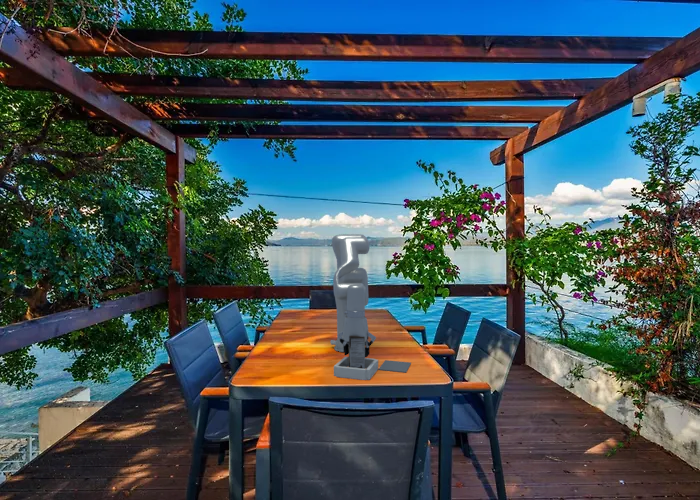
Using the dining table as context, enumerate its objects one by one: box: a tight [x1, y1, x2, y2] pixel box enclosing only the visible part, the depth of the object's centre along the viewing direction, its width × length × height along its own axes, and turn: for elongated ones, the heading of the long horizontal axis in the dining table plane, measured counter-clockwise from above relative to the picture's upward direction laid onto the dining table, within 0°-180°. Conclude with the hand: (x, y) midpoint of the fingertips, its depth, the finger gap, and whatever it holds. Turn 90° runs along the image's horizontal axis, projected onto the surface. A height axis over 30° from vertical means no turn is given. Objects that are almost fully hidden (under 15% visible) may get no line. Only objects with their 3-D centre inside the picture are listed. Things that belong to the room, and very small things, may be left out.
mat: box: [377, 359, 412, 374], centre depth 154 cm, size 12×13×1 cm
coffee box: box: [347, 336, 366, 369], centre depth 148 cm, size 9×6×16 cm
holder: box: [333, 356, 379, 381], centre depth 148 cm, size 15×15×4 cm
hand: (356, 355), depth 148 cm, fingers closed on coffee box, 8 cm apart
